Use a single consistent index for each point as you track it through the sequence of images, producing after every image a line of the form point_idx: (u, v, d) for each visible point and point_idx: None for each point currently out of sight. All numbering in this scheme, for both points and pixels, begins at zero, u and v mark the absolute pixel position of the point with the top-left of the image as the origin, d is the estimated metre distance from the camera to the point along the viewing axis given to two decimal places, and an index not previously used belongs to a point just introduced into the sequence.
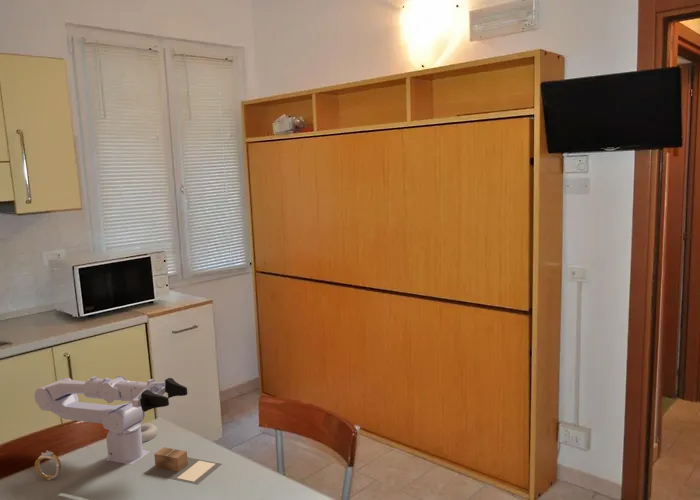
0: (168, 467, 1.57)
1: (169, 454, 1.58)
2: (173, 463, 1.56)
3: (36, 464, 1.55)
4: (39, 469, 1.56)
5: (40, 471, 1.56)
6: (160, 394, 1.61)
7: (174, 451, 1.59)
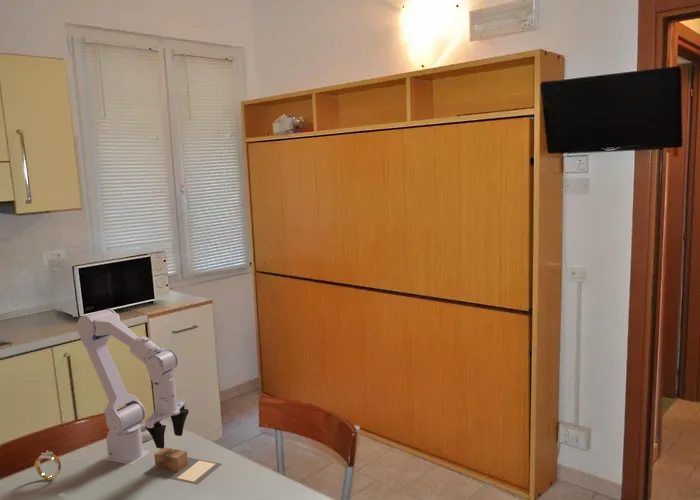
0: (168, 467, 1.57)
1: (169, 454, 1.58)
2: (173, 463, 1.56)
3: (36, 464, 1.55)
4: (39, 469, 1.56)
5: (40, 471, 1.56)
6: None
7: (174, 451, 1.59)
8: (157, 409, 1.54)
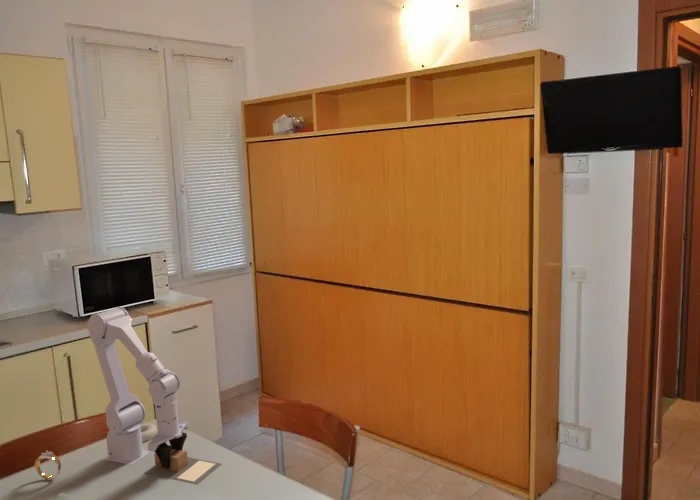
0: None
1: None
2: (173, 463, 1.56)
3: (36, 464, 1.55)
4: (39, 469, 1.56)
5: (40, 471, 1.56)
6: None
7: (174, 451, 1.59)
8: (159, 432, 1.55)
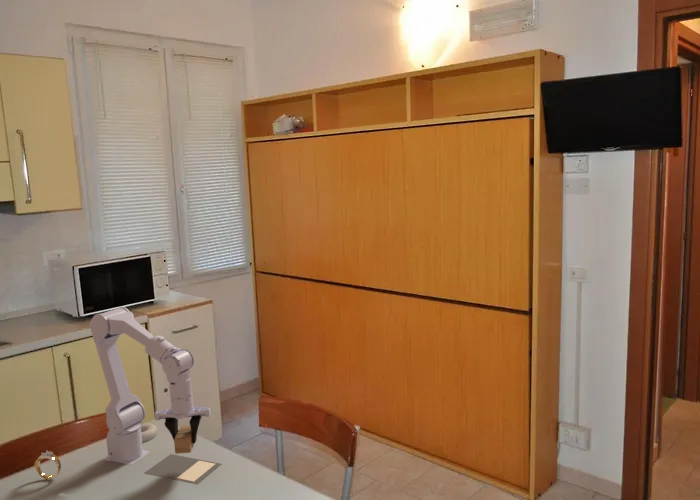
0: None
1: (180, 433, 1.55)
2: None
3: (36, 464, 1.55)
4: (39, 469, 1.56)
5: (40, 471, 1.56)
6: None
7: (187, 433, 1.55)
8: None
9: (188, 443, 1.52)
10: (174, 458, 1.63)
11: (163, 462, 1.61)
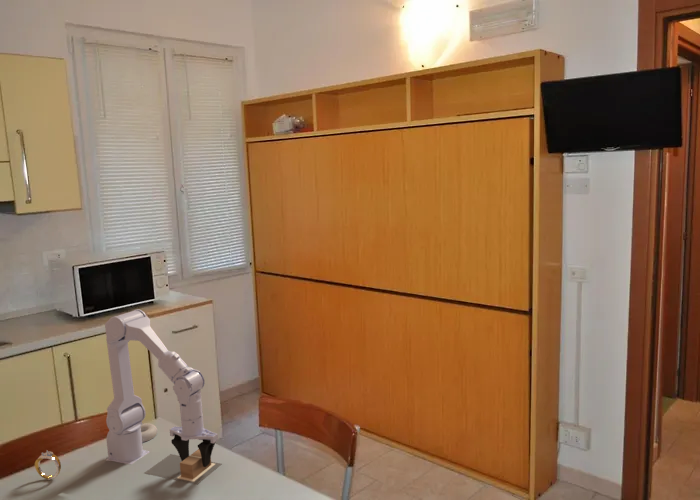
0: None
1: (191, 457, 1.55)
2: None
3: (36, 464, 1.55)
4: (39, 469, 1.56)
5: (40, 471, 1.56)
6: None
7: (196, 458, 1.54)
8: None
9: (191, 470, 1.51)
10: (174, 458, 1.63)
11: (163, 462, 1.61)
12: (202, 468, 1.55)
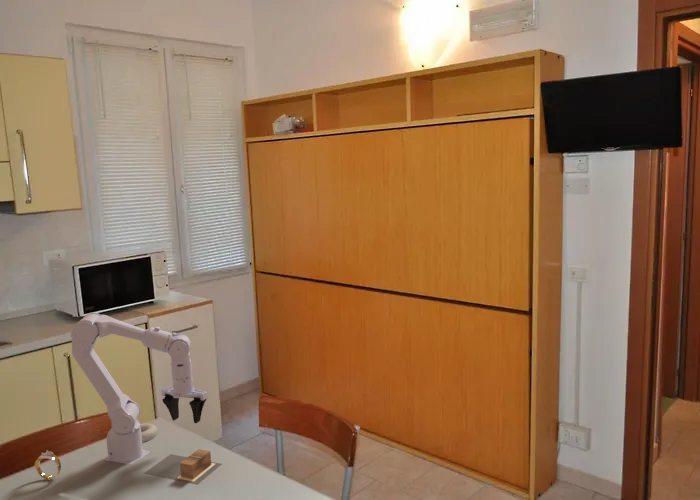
0: None
1: (191, 457, 1.55)
2: None
3: (36, 464, 1.55)
4: (39, 469, 1.56)
5: (40, 471, 1.56)
6: None
7: (196, 458, 1.54)
8: None
9: (191, 470, 1.51)
10: (174, 458, 1.63)
11: (163, 462, 1.61)
12: (202, 468, 1.55)
